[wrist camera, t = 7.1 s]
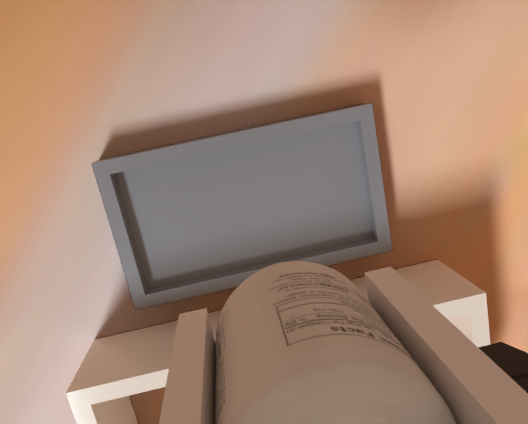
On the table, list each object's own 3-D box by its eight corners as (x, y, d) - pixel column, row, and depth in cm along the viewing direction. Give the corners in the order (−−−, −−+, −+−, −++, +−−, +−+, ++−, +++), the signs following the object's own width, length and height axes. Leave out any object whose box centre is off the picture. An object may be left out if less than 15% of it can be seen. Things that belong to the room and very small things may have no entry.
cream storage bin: (140, 478, 31) (124, 554, 26) (94, 339, 28) (65, 393, 23) (453, 399, 32) (500, 457, 27) (437, 259, 30) (486, 292, 24)
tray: (140, 299, 28) (135, 310, 27) (98, 159, 26) (91, 163, 24) (383, 243, 29) (392, 250, 27) (362, 103, 27) (371, 103, 25)
